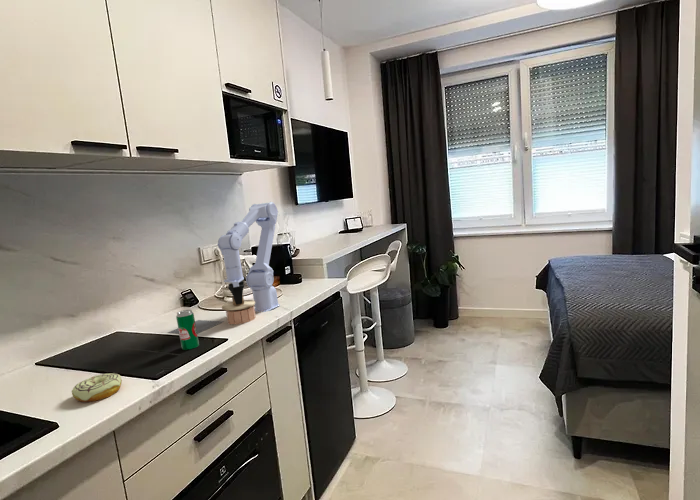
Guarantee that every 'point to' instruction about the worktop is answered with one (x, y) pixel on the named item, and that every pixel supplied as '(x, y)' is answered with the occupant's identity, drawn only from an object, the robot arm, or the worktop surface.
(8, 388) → the worktop surface
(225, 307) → the lid
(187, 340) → the soda can
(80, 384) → the decorated donut
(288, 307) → the worktop surface
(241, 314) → the bowl
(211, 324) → the mat
